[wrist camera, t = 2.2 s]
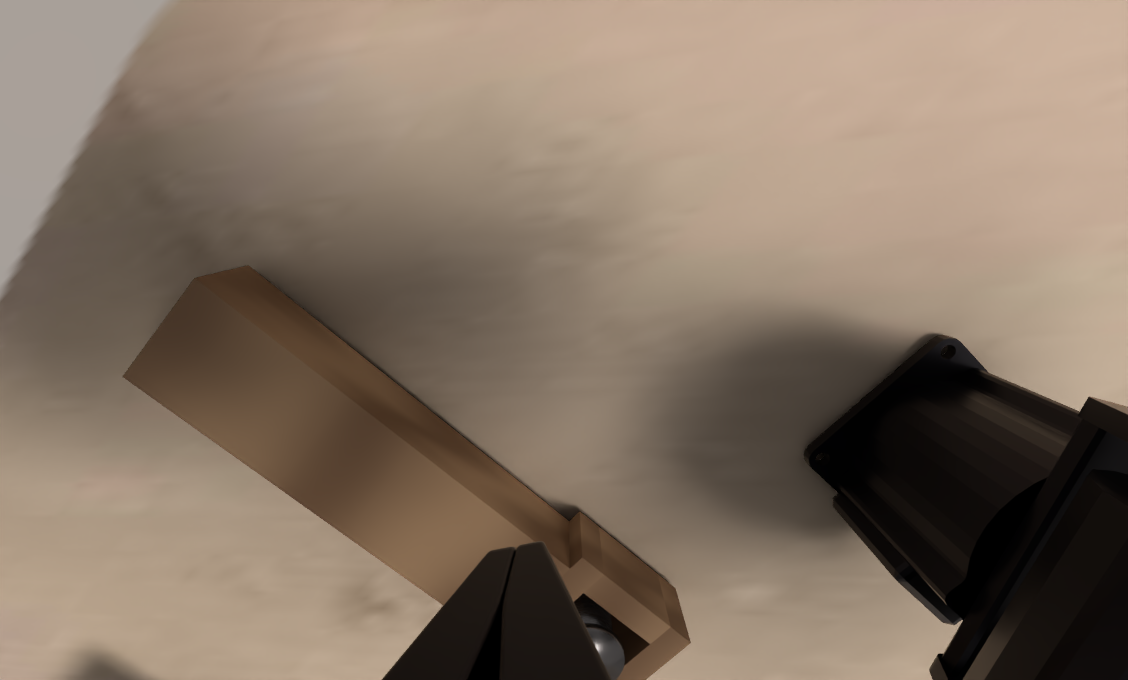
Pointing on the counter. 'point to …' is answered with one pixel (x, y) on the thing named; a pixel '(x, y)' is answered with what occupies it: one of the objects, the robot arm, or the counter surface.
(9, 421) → the counter surface
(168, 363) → the tan wooden bar
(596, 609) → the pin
